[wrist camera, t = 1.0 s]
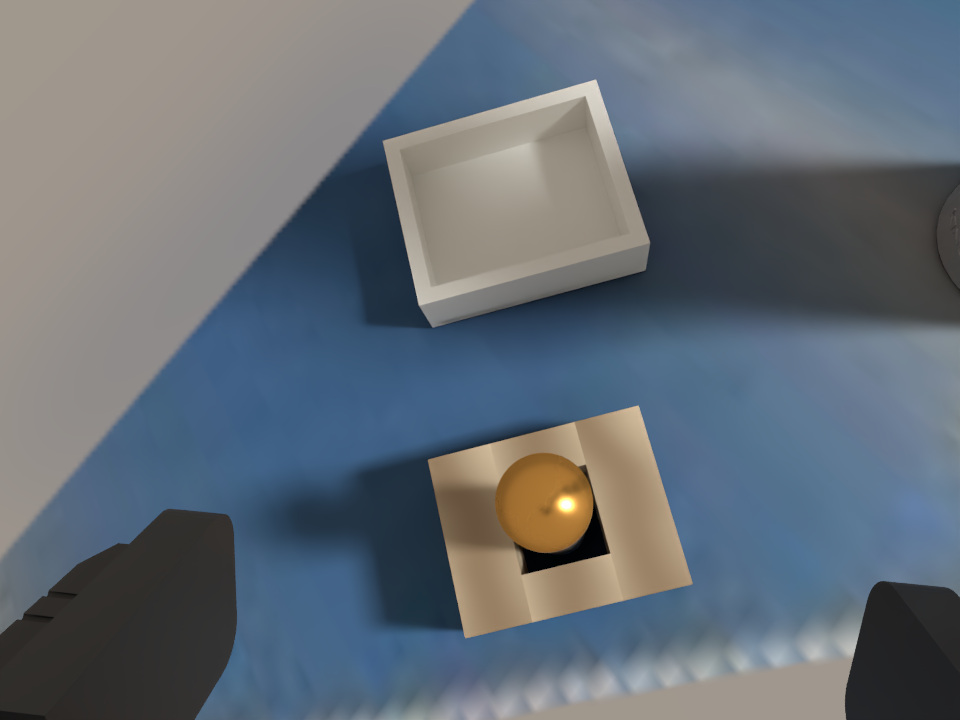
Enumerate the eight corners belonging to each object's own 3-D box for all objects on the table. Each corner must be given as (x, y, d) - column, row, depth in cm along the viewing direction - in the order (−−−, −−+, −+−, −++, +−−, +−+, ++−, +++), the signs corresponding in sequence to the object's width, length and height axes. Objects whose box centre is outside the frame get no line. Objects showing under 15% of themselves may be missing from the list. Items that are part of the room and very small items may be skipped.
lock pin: (582, 484, 38) (578, 442, 27) (600, 552, 37) (604, 538, 26) (517, 500, 38) (485, 466, 27) (533, 568, 37) (507, 562, 26)
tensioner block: (633, 425, 39) (638, 405, 34) (681, 583, 36) (692, 584, 32) (445, 472, 39) (427, 459, 35) (480, 631, 37) (465, 638, 33)
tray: (595, 117, 44) (596, 79, 41) (645, 270, 41) (650, 243, 38) (398, 173, 45) (382, 140, 41) (432, 327, 42) (419, 305, 38)
